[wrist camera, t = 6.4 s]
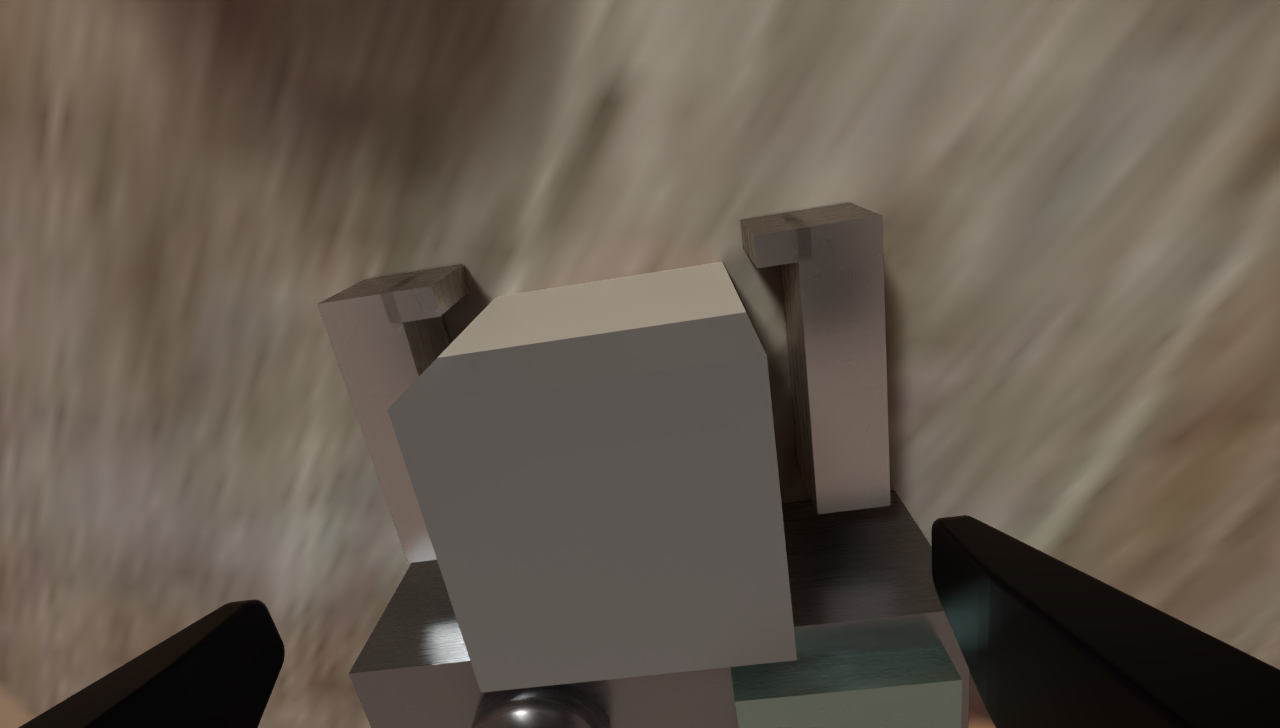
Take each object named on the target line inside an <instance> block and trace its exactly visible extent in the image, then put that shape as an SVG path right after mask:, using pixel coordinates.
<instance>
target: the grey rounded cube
mask: <svg viewBox="0 0 1280 728" xmlns="http://www.w3.org/2000/svg"><path fill="white" fill-rule="evenodd" d="M388 413H389V416H390V419H391V422H392V425H393V428H394V431H395V434H396V437H397V440H398V443H399V446H400V449H401V452H402V455H403V458H404V461H405V464H406V467H407V470H408V473H409V476H410V479H411V482H412V485H413V488H414V491H415V494H416V498H417V501H418V504H419V507H420V510H421V513H422V516H423V519H424V522H425V525H426V528H427V531H428V534H429V537H430V540H431V543H432V546H433V549H434V552H435V555H436V558H437V561H438V564H439V567H440V570H441V573H442V576H443V579H444V582H445V585H446V588H447V591H448V594H449V598H450V601H451V604H452V607H453V610H454V613H455V616H456V619H457V622H458V625H459V628H460V631H461V634H462V637H463V640H464V643H465V646H466V649H467V652H468V655H469V658H470V661H471V664H472V667H473V670H474V673H475V676H476V679H477V682H478V685H479V688H480V691H481V693H482V692H492V691H502V690H511V689H521V688H531V687H541V686H551V685H560V684H570V683H580V682H590V681H599V680H609V679H619V678H629V677H638V676H648V675H658V674H668V673H677V672H687V671H697V670H707V669H716V668H726V667H736V666H746V665H755V664H765V663H775V662H785V661H794V660H797V654H796V644H795V634H794V624H793V614H792V604H791V594H790V584H789V574H788V564H787V554H786V543H785V533H784V523H783V513H782V503H781V493H780V483H779V473H778V463H777V453H776V443H775V433H774V423H773V413H772V402H771V392H770V382H769V372H768V362H767V355H766V353H765V351H764V349H763V346H762V344H761V342H760V340H759V338H758V336H757V334H756V332H755V330H754V328H753V326H752V323H751V321H750V319H749V317H748V315H747V313H746V311H745V309H744V307H743V305H742V302H741V300H740V298H739V296H738V294H737V292H736V290H735V288H734V286H733V284H732V281H731V279H730V277H729V275H728V273H727V271H726V269H725V267H724V265H723V263H722V262H717V263H711V264H704V265H698V266H691V267H685V268H679V269H672V270H666V271H659V272H653V273H646V274H640V275H633V276H627V277H620V278H614V279H607V280H601V281H594V282H588V283H582V284H575V285H569V286H562V287H556V288H549V289H543V290H536V291H530V292H523V293H517V294H510V295H504V296H497V297H495V298H494V299H493V300H492V301H491V302H490V303H489V304H488V306H487V307H486V308H485V309H484V310H483V311H482V312H481V313H480V314H479V315H478V316H477V317H476V318H475V319H474V320H473V321H472V322H471V323H470V324H469V325H468V326H467V327H466V328H465V329H464V330H463V332H462V333H461V334H460V335H459V336H458V337H457V338H456V339H455V340H454V341H453V342H452V343H451V344H450V345H449V346H448V347H447V348H446V349H445V350H444V351H443V352H442V353H441V354H440V355H439V356H438V358H437V359H436V360H435V361H434V362H433V363H432V364H431V365H430V366H429V367H428V368H427V369H426V370H425V371H424V372H423V373H422V374H421V375H420V376H419V377H418V378H417V379H416V380H415V381H414V382H413V384H412V385H411V386H410V387H409V388H408V389H407V390H406V391H405V392H404V393H403V394H402V395H401V396H400V397H399V398H398V399H397V400H396V401H395V402H394V403H393V404H392V405H391V406H390V407H389V408H388Z"/></svg>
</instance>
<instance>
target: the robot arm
mask: <svg viewBox="0 0 1280 728" xmlns="http://www.w3.org/2000/svg"><path fill="white" fill-rule="evenodd" d="M932 577H933V582H934V586H935V590H936V592H937V595H938V597H939V600H940V602H941V604H942V607H943V609H944V611H945V614H946V616H947V619H948V621H949V623H950V626H951V628H952V630H953V633H954V635H955V637H956V640H957V642H958V645H959V647H960V649H961V652H962V654H963V656H964V659H965V661H966V663H967V666H968V668H969V671H970V673H971V675H972V678H973V680H974V682H975V685H976V687H977V689H978V692H979V694H980V696H981V698H982V701H983V703H984V705H985V707H986V709H987V711H988V713H989V715H990V717H991V719H992V721H993V723H994V725H995V727H996V728H1280V670H1279V669H1277V668H1275V667H1273V666H1271V665H1269V664H1267V663H1265V662H1263V661H1261V660H1259V659H1257V658H1255V657H1253V656H1251V655H1249V654H1247V653H1245V652H1243V651H1241V650H1239V649H1237V648H1235V647H1233V646H1231V645H1229V644H1227V643H1225V642H1223V641H1221V640H1219V639H1216V638H1214V637H1212V636H1210V635H1208V634H1206V633H1204V632H1202V631H1200V630H1198V629H1196V628H1194V627H1192V626H1190V625H1188V624H1186V623H1184V622H1182V621H1180V620H1178V619H1176V618H1174V617H1172V616H1170V615H1168V614H1166V613H1164V612H1162V611H1160V610H1158V609H1156V608H1154V607H1152V606H1150V605H1148V604H1146V603H1144V602H1142V601H1140V600H1138V599H1136V598H1134V597H1132V596H1130V595H1128V594H1126V593H1124V592H1122V591H1120V590H1118V589H1116V588H1114V587H1112V586H1110V585H1108V584H1106V583H1104V582H1102V581H1100V580H1098V579H1096V578H1094V577H1092V576H1090V575H1088V574H1086V573H1084V572H1082V571H1080V570H1078V569H1076V568H1073V567H1071V566H1069V565H1067V564H1065V563H1063V562H1061V561H1059V560H1057V559H1055V558H1053V557H1051V556H1049V555H1047V554H1045V553H1043V552H1041V551H1039V550H1037V549H1035V548H1033V547H1031V546H1029V545H1027V544H1025V543H1023V542H1021V541H1019V540H1017V539H1015V538H1013V537H1011V536H1009V535H1007V534H1005V533H1003V532H1001V531H999V530H997V529H995V528H993V527H991V526H989V525H987V524H985V523H983V522H981V521H979V520H977V519H975V518H973V517H970V516H965V515H963V516H955V517H946V518H939V519H937V520H936V521H935V522H934V523H933V526H932ZM284 653H285V650H284V644H283V642H282V639H281V637H280V635H279V633H278V631H277V628H276V626H275V624H274V622H273V620H272V617H271V615H270V613H269V611H268V609H267V607H266V605H265V604H264V603H262V602H261V601H259V600H246V601H237V602H231V603H228V604H225V605H223V606H222V607H220V608H218V609H217V610H215V611H213V612H212V613H210V614H208V615H207V616H205V617H203V618H201V619H200V620H198V621H196V622H195V623H193V624H191V625H190V626H188V627H186V628H185V629H183V630H181V631H180V632H178V633H176V634H175V635H173V636H171V637H170V638H168V639H166V640H165V641H163V642H161V643H160V644H158V645H156V646H155V647H153V648H151V649H150V650H148V651H146V652H144V653H143V654H141V655H139V656H138V657H136V658H134V659H133V660H131V661H129V662H128V663H126V664H124V665H123V666H121V667H119V668H118V669H116V670H114V671H113V672H111V673H109V674H108V675H106V676H104V677H103V678H101V679H99V680H98V681H96V682H94V683H93V684H91V685H89V686H88V687H86V688H84V689H82V690H81V691H79V692H77V693H76V694H74V695H72V696H71V697H69V698H67V699H66V700H64V701H62V702H61V703H59V704H57V705H56V706H54V707H52V708H51V709H49V710H47V711H46V712H44V713H42V714H41V715H39V716H37V717H36V718H34V719H32V720H31V721H29V722H27V723H26V724H24V725H22V726H20V727H19V728H258V725H259V723H260V720H261V718H262V715H263V713H264V710H265V708H266V705H267V703H268V700H269V698H270V695H271V693H272V690H273V688H274V685H275V683H276V680H277V678H278V675H279V673H280V670H281V668H282V665H283V661H284Z"/></svg>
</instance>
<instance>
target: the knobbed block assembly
mask: <svg viewBox="0 0 1280 728" xmlns="http://www.w3.org/2000/svg"><path fill="white" fill-rule="evenodd" d="M740 221H741V230H742V240H743V249H744V250H745V252H746V253H747V254H748V256H749V257H750V259H751V260H752V262H753V263H754V265H755V266H756V268H763V267H770V266H776V265H781V271H782V283H783V295H784V306H785V318H786V330H787V341H788V353H789V365H790V376H791V388H792V400H793V412H794V423H795V435H796V447H797V458H798V467H799V470H800V472H801V475H802V477H803V479H804V482H805V484H806V487H807V489H808V492H809V494H810V497H811V499H812V501H805V502H797V503H788V504H782V513H783V523H784V533H785V543H786V554H787V564H788V574H789V584H790V594H791V604H792V614H793V624H794V634H795V644H796V654H797V660H794V661H785V662H775V663H765V664H755V665H746V666H736V667H726V668H716V669H707V670H697V671H687V672H677V673H668V674H658V675H648V676H638V677H629V678H619V679H609V680H599V681H590V682H580V683H570V684H560V685H551V686H541V687H531V688H521V689H511V690H502V691H492V692H482V693H481V691H480V688H479V685H478V682H477V679H476V676H475V673H474V670H473V667H472V664H471V661H470V658H469V655H468V652H467V649H466V646H465V643H464V640H463V637H462V634H461V631H460V628H459V625H458V622H457V619H456V616H455V613H454V610H453V607H452V604H451V601H450V598H449V594H448V591H447V588H446V585H445V582H444V579H443V576H442V573H441V570H440V567H439V564H438V561H437V558H436V555H435V552H434V549H433V546H432V543H431V540H430V537H429V534H428V531H427V528H426V525H425V522H424V519H423V516H422V513H421V510H420V507H419V504H418V501H417V498H416V494H415V491H414V488H413V485H412V482H411V479H410V476H409V473H408V470H407V467H406V464H405V461H404V458H403V455H402V452H401V449H400V446H399V443H398V440H397V437H396V434H395V431H394V428H393V425H392V422H391V419H390V416H389V413H388V408H389V407H390V406H391V405H392V404H393V403H394V402H395V401H396V400H397V399H398V398H399V397H400V396H401V395H402V394H403V393H404V392H405V391H406V390H407V389H408V388H409V387H410V386H411V385H412V384H413V382H414V381H415V380H416V379H417V378H418V377H419V376H420V375H421V374H422V373H423V372H424V371H425V370H426V369H427V368H428V367H429V366H430V365H431V364H432V363H433V362H434V361H435V360H436V359H437V358H438V356H439V355H440V354H441V353H442V352H443V351H444V350H445V349H446V348H447V347H448V346H449V345H450V341H449V338H448V334H447V331H446V327H445V323H444V320H443V316H442V315H443V314H444V313H445V312H446V311H447V310H448V309H449V308H451V307H452V306H453V305H454V304H455V303H456V302H458V301H459V300H460V299H461V298H462V297H463V296H464V295H466V294H467V293H468V292H469V291H470V290H469V287H468V283H467V279H466V275H465V271H464V267H463V264H461V265H455V266H448V267H442V268H436V269H429V270H423V271H417V272H410V273H404V274H398V275H392V276H385V277H379V278H373V279H366V280H363V281H361V282H359V283H357V284H355V285H353V286H351V287H349V288H347V289H345V290H343V291H341V292H339V293H337V294H336V295H334V296H332V297H330V298H328V299H326V300H324V301H322V302H320V303H318V307H319V310H320V313H321V316H322V319H323V321H324V324H325V327H326V330H327V333H328V336H329V339H330V341H331V344H332V347H333V350H334V353H335V356H336V359H337V362H338V364H339V367H340V370H341V373H342V376H343V379H344V382H345V384H346V387H347V390H348V393H349V396H350V399H351V402H352V404H353V407H354V410H355V413H356V416H357V419H358V422H359V424H360V427H361V430H362V433H363V436H364V439H365V442H366V444H367V447H368V450H369V453H370V456H371V459H372V462H373V464H374V467H375V470H376V473H377V476H378V479H379V482H380V484H381V487H382V490H383V493H384V496H385V499H386V502H387V505H388V507H389V510H390V513H391V516H392V519H393V522H394V525H395V527H396V530H397V533H398V536H399V539H400V542H401V545H402V547H403V550H404V553H405V556H406V559H407V562H408V563H411V565H410V567H409V569H408V570H407V572H406V574H405V576H404V577H403V579H402V581H401V583H400V584H399V586H398V588H397V590H396V591H395V593H394V595H393V597H392V598H391V600H390V602H389V604H388V605H387V607H386V609H385V611H384V613H383V614H382V616H381V618H380V620H379V621H378V623H377V625H376V627H375V628H374V630H373V632H372V634H371V635H370V637H369V639H368V641H367V642H366V644H365V646H364V648H363V649H362V651H361V653H360V655H359V656H358V658H357V660H356V662H355V664H354V665H353V667H352V669H351V671H350V672H349V675H350V678H351V680H352V683H353V685H354V687H355V690H356V692H357V694H358V697H359V699H360V702H361V704H362V706H363V709H364V711H365V714H366V716H367V718H368V721H369V723H370V725H371V728H968V718H969V677H970V671H969V668H968V666H967V663H966V661H965V659H964V656H963V654H962V652H961V649H960V647H959V645H958V642H957V640H956V637H955V635H954V633H953V630H952V628H951V626H950V623H949V621H948V619H947V616H946V614H945V611H944V609H943V607H942V604H941V602H940V600H939V597H938V595H937V592H936V590H935V586H934V582H933V577H932V547H931V546H930V544H929V543H928V541H927V539H926V538H925V536H924V535H923V533H922V532H921V530H920V529H919V527H918V526H917V524H916V522H915V521H914V519H913V518H912V516H911V515H910V513H909V512H908V510H907V509H906V507H905V505H904V504H903V502H902V501H901V499H900V498H899V496H898V495H897V493H896V492H895V491H890V468H889V433H888V398H887V363H886V328H885V293H884V258H883V224H882V215H880V214H877V213H875V212H872V211H870V210H867V209H865V208H862V207H860V206H857V205H855V204H852V203H845V204H838V205H832V206H826V207H819V208H813V209H807V210H801V211H794V212H788V213H782V214H775V215H769V216H763V217H757V218H750V219H744V220H740Z"/></svg>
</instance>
